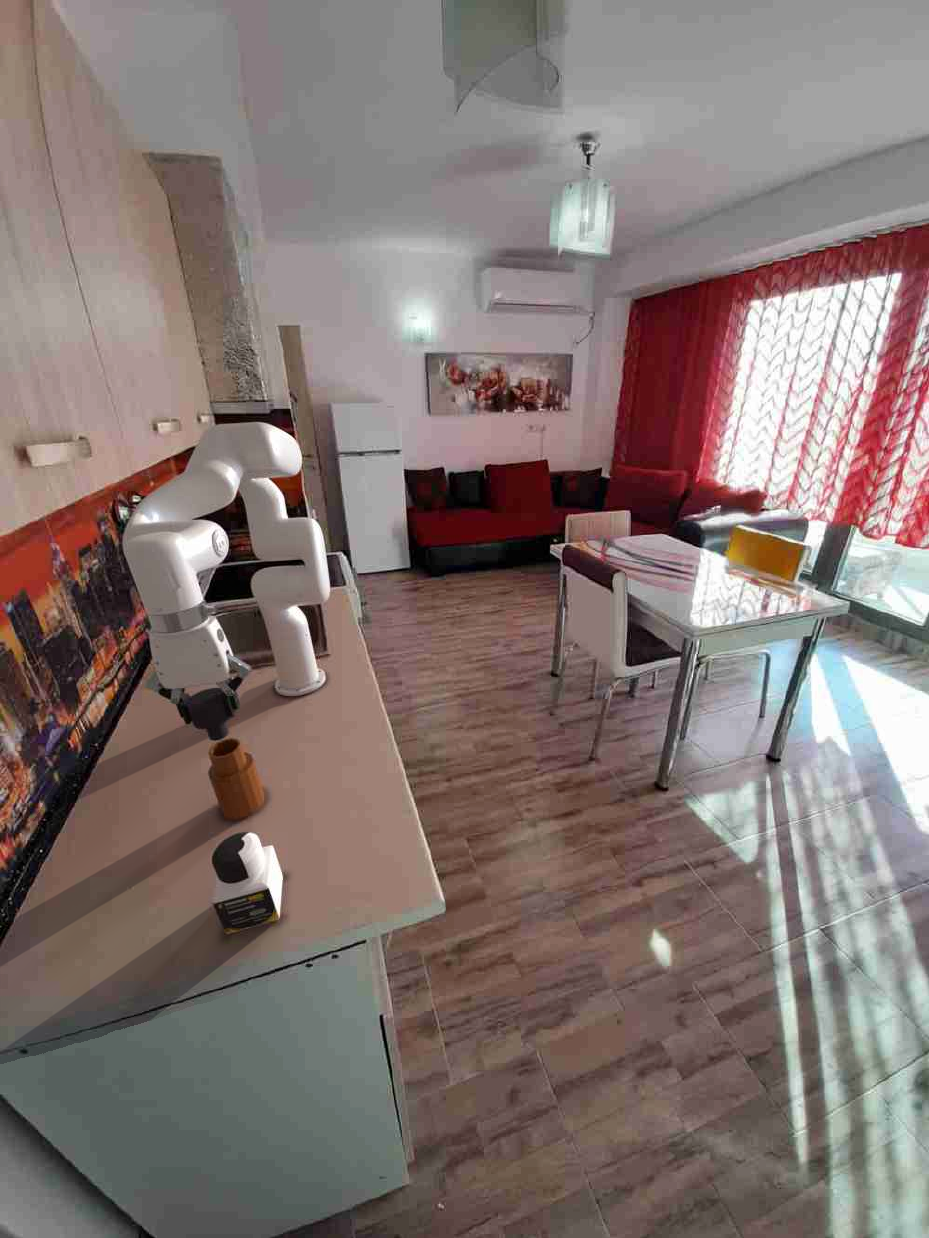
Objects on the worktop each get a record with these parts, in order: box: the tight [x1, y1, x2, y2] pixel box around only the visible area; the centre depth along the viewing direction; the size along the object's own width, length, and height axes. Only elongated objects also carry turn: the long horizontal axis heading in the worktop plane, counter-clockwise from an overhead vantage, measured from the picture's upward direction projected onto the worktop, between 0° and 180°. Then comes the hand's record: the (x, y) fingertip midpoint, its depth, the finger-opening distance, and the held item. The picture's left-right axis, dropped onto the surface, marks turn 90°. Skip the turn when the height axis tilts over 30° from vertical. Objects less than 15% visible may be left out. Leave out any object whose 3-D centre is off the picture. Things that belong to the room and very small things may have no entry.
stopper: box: [186, 687, 232, 742], centre depth 78 cm, size 6×6×8 cm
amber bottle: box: [207, 737, 266, 820], centre depth 84 cm, size 7×7×13 cm
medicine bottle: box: [211, 831, 284, 935], centre depth 66 cm, size 7×7×12 cm
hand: (212, 715), depth 78 cm, fingers closed on stopper, 6 cm apart
